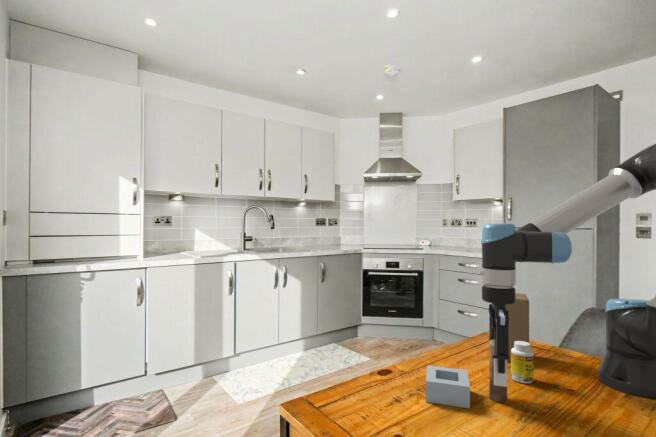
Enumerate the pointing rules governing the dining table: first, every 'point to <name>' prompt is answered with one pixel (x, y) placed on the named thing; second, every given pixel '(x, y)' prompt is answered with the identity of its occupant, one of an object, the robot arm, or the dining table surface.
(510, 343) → the wooden block
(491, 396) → the peg
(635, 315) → the robot arm
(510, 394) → the dining table surface
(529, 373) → the supplement bottle
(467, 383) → the socket block
